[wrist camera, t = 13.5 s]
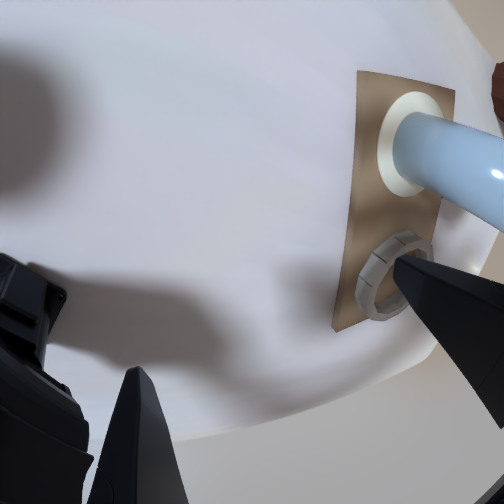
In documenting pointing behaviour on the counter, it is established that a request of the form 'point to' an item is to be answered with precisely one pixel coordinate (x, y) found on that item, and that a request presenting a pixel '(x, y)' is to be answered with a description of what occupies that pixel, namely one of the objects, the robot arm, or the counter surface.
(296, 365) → the counter surface
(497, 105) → the muffin
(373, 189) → the tan flat slab
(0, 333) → the robot arm
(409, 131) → the pale blue cylinder
